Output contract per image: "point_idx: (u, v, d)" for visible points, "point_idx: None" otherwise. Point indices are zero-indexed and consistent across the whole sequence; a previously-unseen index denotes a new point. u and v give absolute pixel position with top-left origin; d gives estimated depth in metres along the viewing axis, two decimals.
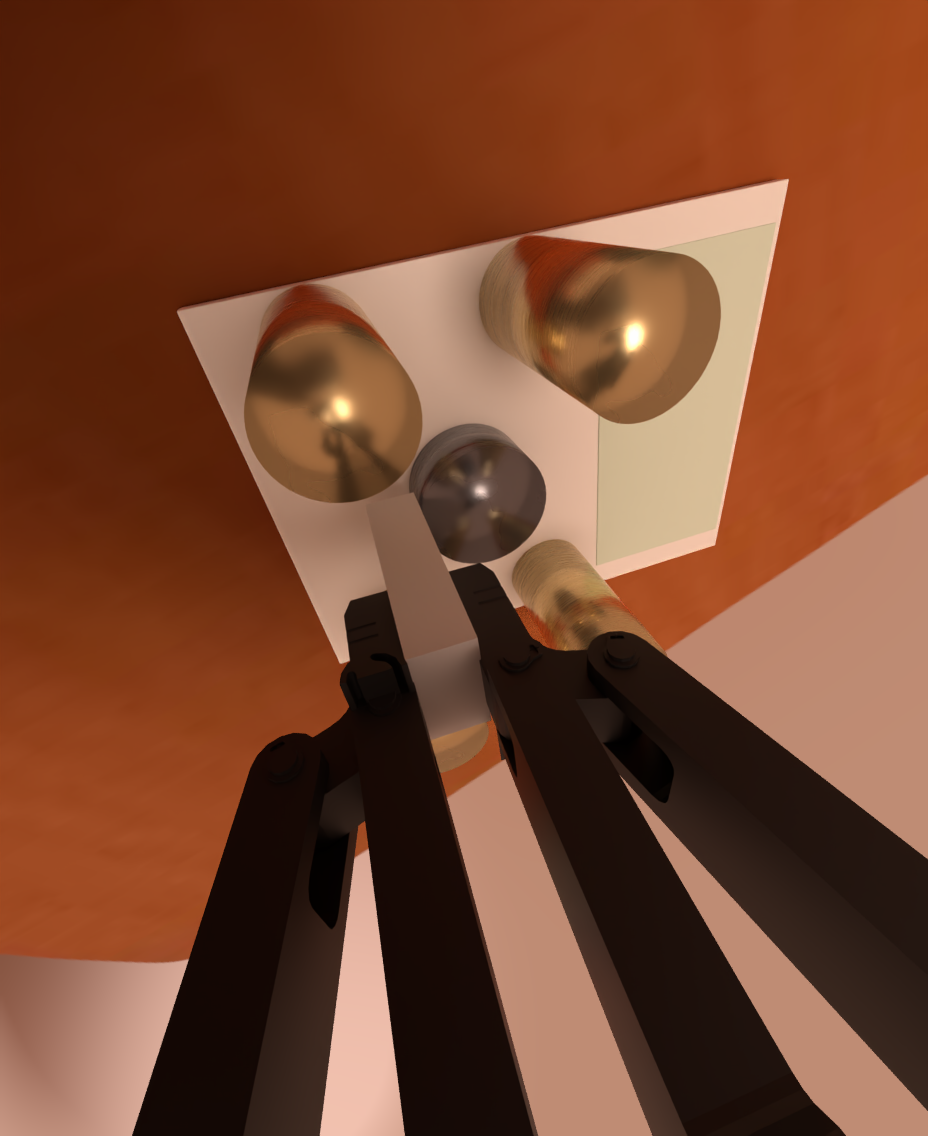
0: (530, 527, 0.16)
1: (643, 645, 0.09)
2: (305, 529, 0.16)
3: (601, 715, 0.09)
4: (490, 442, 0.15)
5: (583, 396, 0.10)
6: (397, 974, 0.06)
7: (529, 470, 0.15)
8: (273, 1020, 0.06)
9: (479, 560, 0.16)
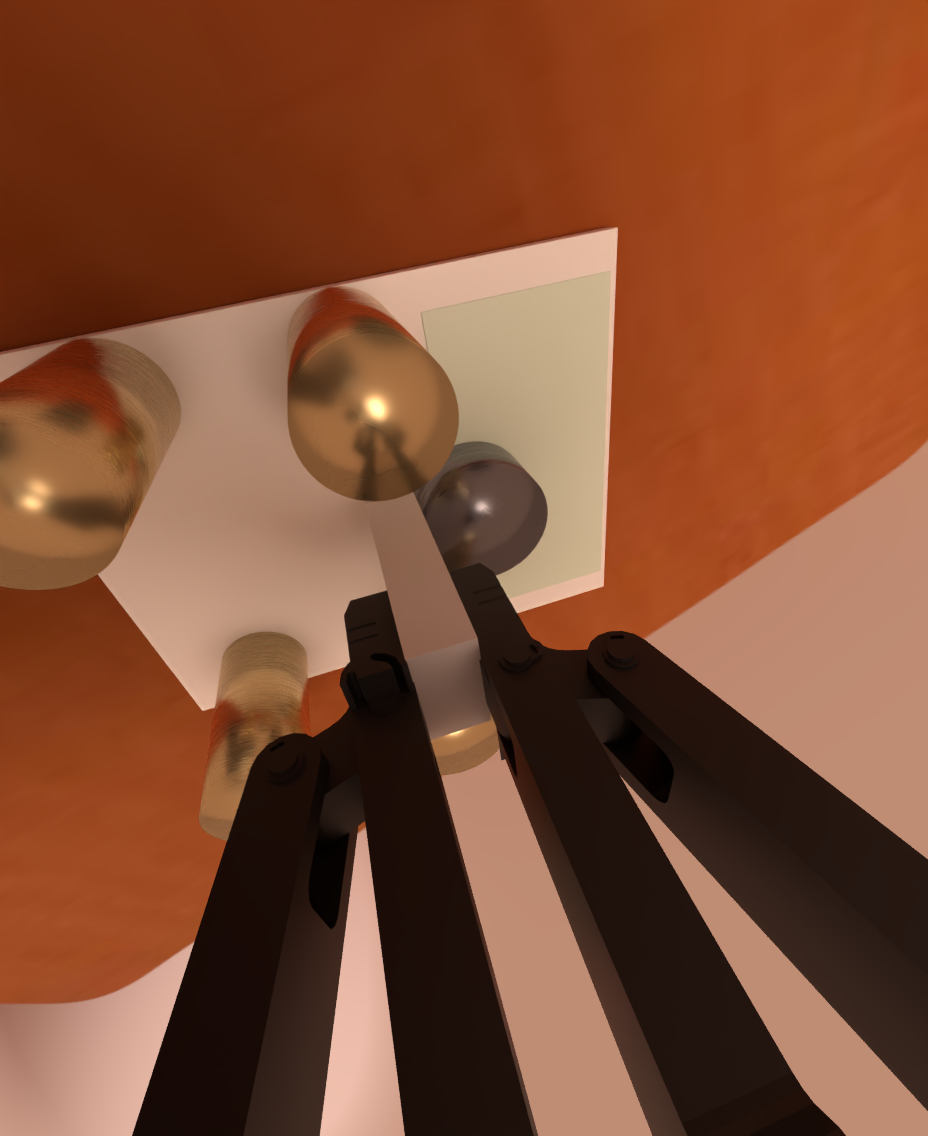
0: (526, 551, 0.17)
1: (643, 645, 0.09)
2: (135, 580, 0.16)
3: (601, 715, 0.09)
4: (503, 462, 0.15)
5: (313, 476, 0.09)
6: (397, 974, 0.06)
7: (535, 495, 0.15)
8: (273, 1019, 0.06)
9: None
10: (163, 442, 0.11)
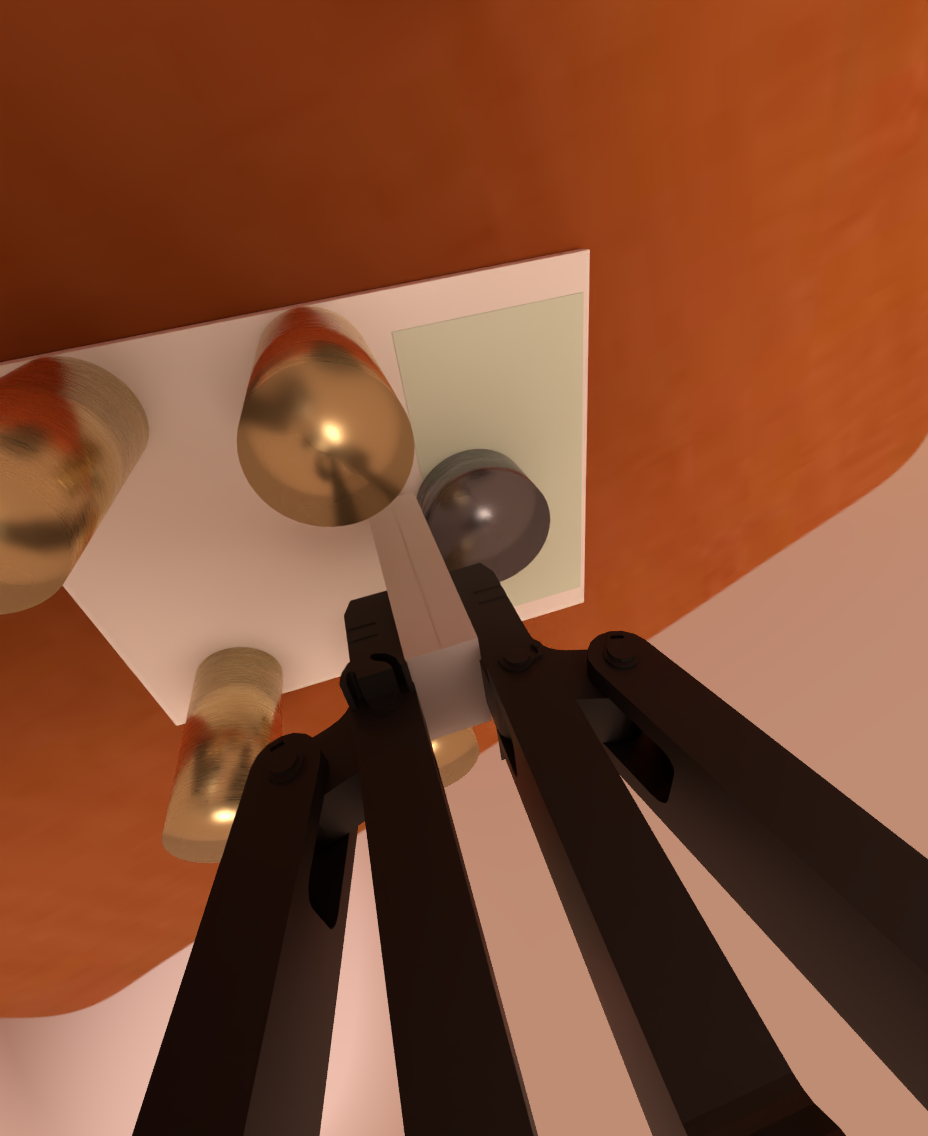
0: (528, 558, 0.17)
1: (643, 645, 0.09)
2: (105, 596, 0.15)
3: (601, 715, 0.09)
4: (507, 469, 0.15)
5: (266, 502, 0.09)
6: (397, 974, 0.06)
7: (538, 502, 0.15)
8: (273, 1020, 0.06)
9: None
10: (125, 462, 0.11)
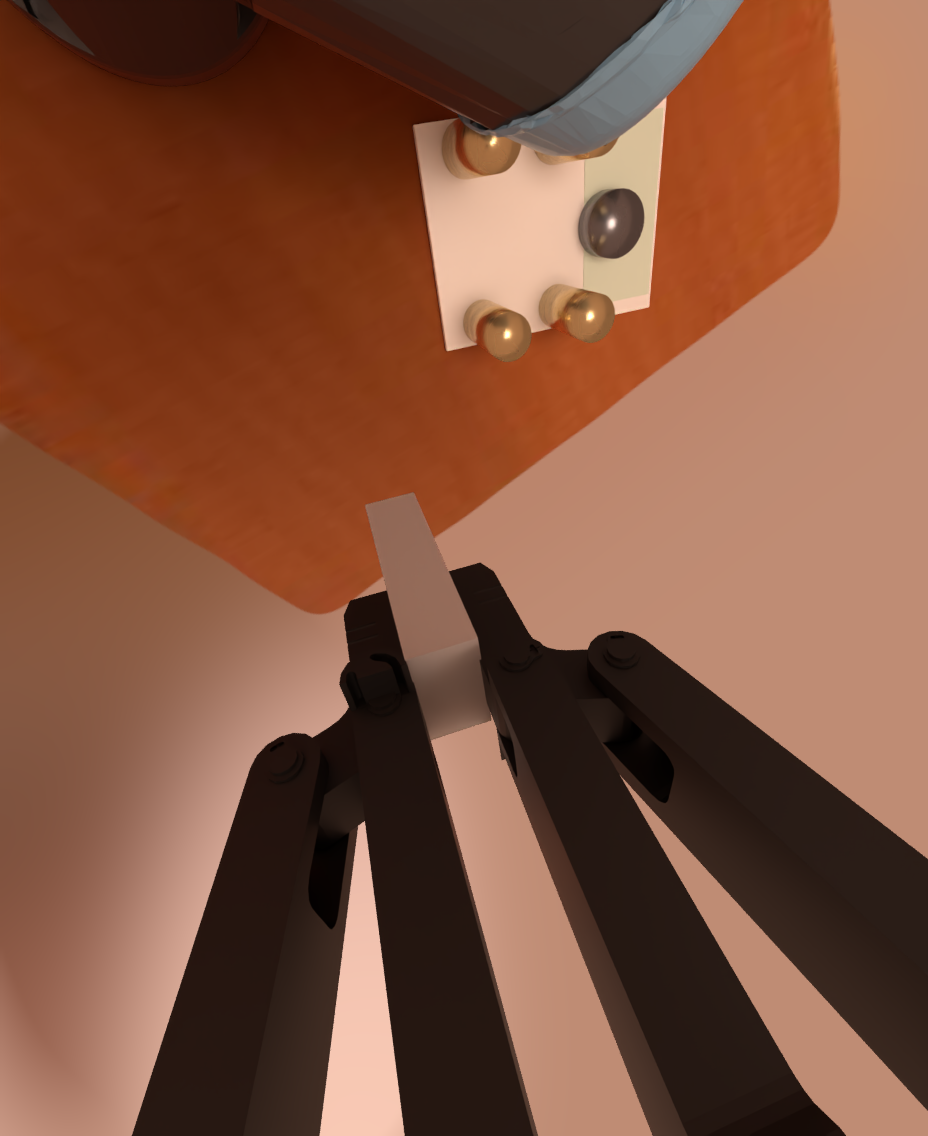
0: (632, 244, 0.35)
1: (643, 645, 0.09)
2: (444, 252, 0.34)
3: (601, 715, 0.09)
4: (627, 190, 0.34)
5: None
6: (397, 974, 0.06)
7: (640, 209, 0.34)
8: (273, 1020, 0.06)
9: (606, 255, 0.35)
10: None
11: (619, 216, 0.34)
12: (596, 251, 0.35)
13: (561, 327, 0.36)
